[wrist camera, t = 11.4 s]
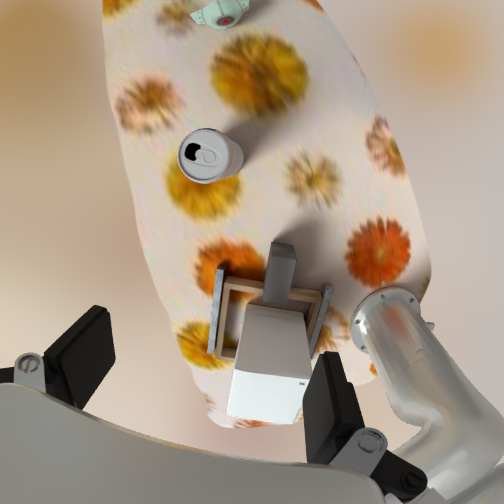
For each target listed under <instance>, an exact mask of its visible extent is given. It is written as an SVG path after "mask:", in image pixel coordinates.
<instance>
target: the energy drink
mask: <svg viewBox="0 0 504 504" xmlns="http://www.w3.org/2000/svg"><path fill="white" fill-rule="evenodd" d="M177 158H178V164H179V167H180V169H181V170H182V172H183V173H184V174H185V175H186V176H187V177H188V178H189V179H191V180H193V181H195V182H198V183H212V182H215V181H218V180H221V179H225V178H228V177H231V176H233V175H235V174H236V173H238V172H239V170H240V169H241V168H242V166H243V163H244V152H243V149H242V148H241V146H240V145H239V144H238V143H237V142H236V141H234V140H233V139H231V138H229V137H228V136H226V135H225V134H223V133H221V132H220V131H217V130H215V129H211V128H203V129H198V130H196V131H193V132H192V133H190V134H189V135H187V136H186V137H185V138H184V140H183V141H182V142H181V144H180V146H179V149H178V155H177Z"/></svg>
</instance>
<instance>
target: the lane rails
mask: <svg viewBox="0 0 504 504" xmlns="http://www.w3.org/2000/svg"><path fill="white" fill-rule="evenodd" d="M224 272H225V266H220V265H218V267H217V269H216V277H215V286H214V295H213V304H212V313H211V323H210V333H209V343H208V353H210V354H214V351H215V346H216V337H217V328H218V320H219V312H220V304H221V296H222V288H223V280H224ZM332 291H333V287H332V285H331V284H327V283H325V284H324V288H323V291H322V295H321V296H322V302H321V306H320V309H319V312H318V316H317V319H316V322H315V326H314V329H313V332H312V335H311V338H310V341H309V344H308V346H309V353H310V359H311V356H312V353H313V350H314V348H315V345H316V342H317V339H318V336H319V333H320V330H321V327H322V323H323V320H324V317H325V314H326V311H327V308H328V304H329V301H330V298H331V294H332Z"/></svg>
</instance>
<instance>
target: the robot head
mask: <svg viewBox="0 0 504 504" xmlns="http://www.w3.org/2000/svg"><path fill="white" fill-rule="evenodd" d="M248 9H249V0H217V1H214V2H211V3H210V4H209V5H207V6H206V7H204V8H202V9H201V10H198V11H196V12H194V13H192V14H190V16H191V17H192V18H193V19H194V20H195V21H196V23H197V24H207V25H210V26H212V27H214V28H217V29H226V28H230V27H232V26H234V25H235V24H236V23H237V22H238V21H239V19H240V17H241V15H242V14H243V13H244V12H245V11H247V10H248Z"/></svg>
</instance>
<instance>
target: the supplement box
mask: <svg viewBox="0 0 504 504" xmlns="http://www.w3.org/2000/svg"><path fill="white" fill-rule="evenodd" d="M311 375H312V367H311V360H310V353H309V346H308V340H307V334H306V327H305V321H304V315H303V312H296V311H289V310H283V309H277V308H270V307H265V306H259V305H253V304H247V305H246V309H245V314H244V318H243V323H242V327H241V332H240V337H239V341H238V346H237V352H236V357H235V362H234V368H233V373H232V379H231V386H230V392H229V399H228V407H227V416H232V417H237V418H244V419H252V420H259V421H267V422H274V423H283V424H293V423H294V422H295V420H296V418H297V416H298V413H299V411H300V409H301V407H302V400H303V395H304V393H305V390H306V388H307V386H308V383H309V381H310V378H311Z"/></svg>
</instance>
